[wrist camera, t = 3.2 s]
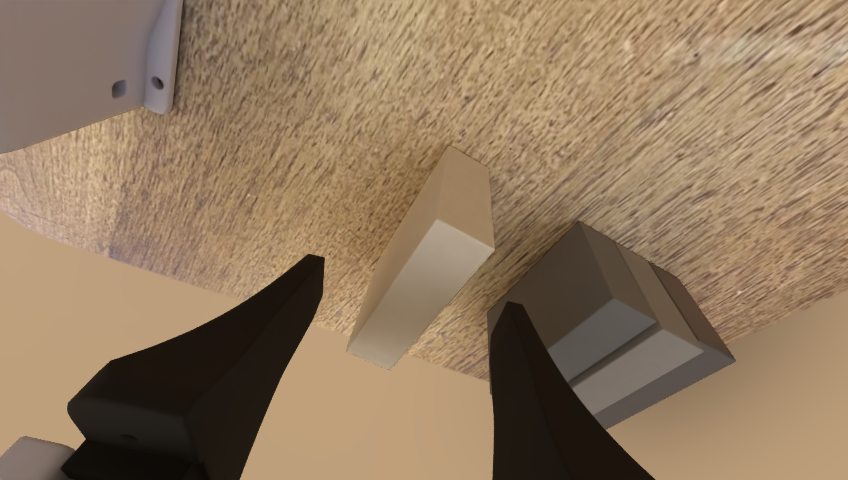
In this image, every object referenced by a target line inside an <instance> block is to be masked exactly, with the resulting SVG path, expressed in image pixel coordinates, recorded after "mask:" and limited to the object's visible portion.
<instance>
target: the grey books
mask: <svg viewBox="0 0 848 480" xmlns="http://www.w3.org/2000/svg"><path fill="white" fill-rule="evenodd" d="M507 301H510V302H515V303H519V304H523V306H524V308H525V310H526V312H527V313H528V315H529V317H530V319H531V321H532V323H533V325H534V327H535V329H536V331H537V333H538V335H539V336H540V338H541V340H542V342H543V344H544V345H545V347H546V349H547V351H548V352H549V354H550V356H551V358H552V359H553V361H554V363H555V364H556V366H557V367H558V369H559V370H560V372H561V374H562V375H563V377H564V378H565V380H566V381H567V382H568V384H569V385H570V387H571V388H572V389H573V391H574V392H575V393H576V395H577V396H578V397H579V399H580V400H581V401H582V403H583V404H584V405H585V406H586V408H587V409H588V410H589V411H590V413H591V414H592V415H593V416H594V417H595V418H596V420H597V421H598V422H599V423H600V424H601V426H602V427H603V428H604V429H605V430H606V429H608V428H610V427H612V426H614V425H616V424H618V423H620V422H621V421H623V420H625V419H627V418H629V417H631V416H633V415H635V414H637V413H638V412H641V411H642V410H644V409H646V408H648V407H650V406H652V405H654V404H656V403H658V402H660V401H661V400H663V399H665V398H667V397H669V396H671V395H673V394H675V393H677V392H679V391H681V390H682V389H684V388H686V387H688V386H690V385H692V384H694V383H696V382H698V381H699V380H701V379H703V378H705V377H707V376H709V375H711V374H713V373H715V372H717V371H719V370H720V369H722V368H724V367H726V366H728V365H730V364H732V363H734V362H735V361H736V360H735V358H734V357H733V355H732V354H731V352H730V351H729V350H728V348H727V347H726V345H725V344H724V342H723V341H722V340H721V338H720V337H719V335H718V334H717V332H716V331H715V330H714V328H713V327H712V325H711V324H710V322H709V321H708V320H707V318H706V317H705V315H704V314H703V312H702V311H701V310H700V308H699V307H698V305H697V304H696V303H695V301H694V300H693V298H692V297H691V295H690V294H689V293H688V291H687V290H686V288H685V287H684V285H683V284H682V283H681V281H680V280H679V279H678V278H676V277H674V276H673V275H671V274H669V273H668V272H666V271H664V270H662V269H661V268H659V267H657V266H656V265H654V264H652V263H650V262H647V260H645V259H644V258H642V257H640V256H639V255H637V254H635V253H633V252H632V251H630V250H628V249H627V248H625V247H623V246H621V245H620V244H618V243H616V242H613V240H611V239H610V238H608V237H606V236H604V235H603V234H601V233H599V232H597V231H596V230H594V229H592V228H591V227H589V226H587V225H585V224H584V223H582V222H580V221H578V222H577V223H576V224H575V225H574V226H573V227H572V228H571V229H570V230H569V231H568V232H567V233H566V234H565V235H564V236H563V237H562V238H561V239H560V240H559V241H558V242H557V243H556V244H555V245H554V246H553V247H552V248H551V249H550V250H549V251H548V252H547V253H546V254H545V255H544V256H543V257H542V258H541V259H540V260H539V261H538V262H537V263H536V264H535V265H534V266H533V267H532V268H531V269H530V270H529V271H528V272H527V273H526V274H525V275H524V276H523V277H522V278H521V279H520V280H519V281H518V282H517V283H516V284H515V285H514V286H513V287H512V288H511V289H510V290H509V291H508V292H507V293H506V294H505V295H504V296H503V297H502V298H501V299H500V300H499V302H498V303H497V304H496V305H495V306H494V307H493V308H492V309H491V310H490V311H489V312H488V313H487V325H488V352H489V378H490V394H491V395H492V387H491V374H490V339H491V333H492V331H493V329H494V327H495V325H496V323H497V321H498V319H499V317H500V315H501V313H502V311H503V309H504V307H505V305H506V303H507Z"/></svg>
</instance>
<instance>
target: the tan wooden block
mask: <svg viewBox="0 0 848 480" xmlns="http://www.w3.org/2000/svg"><path fill="white" fill-rule="evenodd" d="M494 250H495V245H494V232H493V219H492V206H491V193H490V180H489V168H488V167H486V166H484V165H482V164H481V163H479V162H477V161H476V160H474V159H472V158H470V157H469V156H467V155H465V154H464V153H462V152H460V151H458V150H457V149H455V148H453V147H452V146H448V147H447V149H446V150H445V152H444V153H443V155H442V157H441V158H440V160H439V162H438V163H437V165H436V166H435V168H434V170H433V171H432V173H431V175H430V176H429V178H428V179H427V181H426V183H425V184H424V186H423V187H422V189H421V191H420V192H419V194H418V196H417V197H416V199H415V200H414V202H413V204H412V205H411V207H410V209H409V210H408V212H407V213H406V215H405V217H404V218H403V220H402V222H401V223H400V225H399V226H398V228H397V230H396V231H395V233H394V235H393V236H392V238H391V239H390V241H389V243H388V244H387V246H386V248H385V249H384V251H383V252H382V254H381V256H380V257H379V259H378V261H377V264H376V267H375V270H374V272H373V275H372V278H371V281H370V284H369V286H368V289H367V292H366V295H365V298H364V300H363V303H362V306H361V309H360V312H359V314H358V317H357V320H356V323H355V326H354V328H353V331H352V334H351V337H350V340H349V342H348V345H347V348H346V352H347V353H350V354H352V355H354V356H357V357H359V358H361V359H364V360H366V361H368V362H371V363H373V364H375V365H378V366H380V367H382V368H385V369H387V370H391V369H392V368H393V367H394V366H395V364H396V363H397V362H398V361H399V360H400V359H401V358H402V356H403V355H404V354H405V353H406V352H407V351H408V349H409V348H410V347H411V346H412V345H413V344H414V343H415V341H416V340H417V339H418V338H419V337H420V336H421V335H422V333H423V332H424V331H425V330H426V329H427V328H428V326H429V325H430V324H431V323H432V322H433V321H434V320H435V318H436V317H437V316H438V315H439V314H440V313H441V312H442V310H443V309H444V308H445V307H446V306H447V305H448V304H449V302H450V301H451V300H452V299H453V298H454V297H455V295H456V294H457V293H458V292H459V291H460V290H461V289H462V287H463V286H464V285H465V284H466V283H467V282H468V281H469V279H470V278H471V277H472V276H473V275H474V274H475V272H476V271H477V270H478V269H479V268H480V267H481V266H482V264H483V263H484V262H485V261H486V260H487V259H488V258H489V256H490V255H491V254H492V253H493V252H494Z"/></svg>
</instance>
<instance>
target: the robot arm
mask: <svg viewBox="0 0 848 480" xmlns="http://www.w3.org/2000/svg"><path fill="white" fill-rule="evenodd" d="M182 7H183V0H0V154H2V153H7V152H12V151H15V150H19V149H22V148H25V147H28V146H31V145H34V144H37V143H40V142H42V141H45V140H48V139H51V138H54V137H57V136H59V135H62V134H65V133H68V132H71V131H74V130H76V129H79V128H82V127H85V126H88V125H91V124H93V123H96V122H99V121H102V120H105V119H108V118H110V117H113V116H116V115H119V114H122V113H125V112H127V111H130V110H133V109H136V108H139V107H141V106H143V107H145V108H147V109H149V110H151V111H153V112H155V113H157V114H160V115H162V114H166V113H169V112H170V111H171V110H172V107H173V97H174V87H175V77H176V67H177V57H178V47H179V37H180V27H181V17H182ZM158 78H159V79H160V80H161V81H162V82H163V86H164V87H163V86H162V85H160V83H159V82H158ZM324 261H325V258H324V257H320V256H316V255H312V254H308V255H306V256H305V257H304V258H303V259H301V260H300V261H299V262H298V263H297V264H295V265H294V266H293V267H292V268H290V269H289V270H288V271H287V272H285V273H284V274H283V275H282V276H280V277H279V278H278V279H276V280H275V281H274V282H272V283H271V284H270V285H268V286H267V287H265V288H264V289H263V290H261V291H260V292H258V293H257V294H255V295H254V296H252V297H251V298H249V299H248V300H246V301H245V302H243V303H241V304H240V305H238V306H236V307H235V308H233V309H231V310H230V311H228V312H226V313H224V314H223V315H221V316H219V317H217V318H215V319H213V320H211V321H209V322H207V323H205V324H203V325H201V326H199V327H197V328H195V329H193V330H191V331H189V332H186V333H184V334H182V335H179V336H177V337H175V338H172V339H170V340H167V341H165V342H162V343H160V344H158V345H155V346H152V347H149V348H147V349H144V350H141V351H138V352H135V353H132V354H129V355H126V356H123V357H121V358H117V359H114V360H111V361H110V362H109V363H108V364H107V365H105V366H104V367H103V368H102V369H101V370H100V371H99V372H98V373H97V374H96V375H95V376H94V377H93V378H92V379H91V380H90V381H89V382H88V383H87V384H86V385H85V386H84V387H83V388H82V389H81V390H80V391H79V392H78V393H77V394H76V395H75V396H74V397H73V398H72V399H71V401H70V402H68V407H67V411H68V414H69V416H70V418H71V419H72V421H73V422H74V423H75V425H76V426H77V427H78V429H79V430H80V431H81V433H82V434H83V435H84V437H85V438H86V440H85V441H84V442H83V443H82V444H81V446H80V447H79V448H78V449H77V450H74V449H73V448H70V447H69V446H66V445H63V444H59V443H55V442H50V441H45V440H41V439H37V438H32V437H27V436H24V437H21V438H19V439H18V440H17V441H16V442H15V443H14V444H13V445H12V446H11V447H10V448H9V449H8V450H7V451H6V452H5V453H4V454H3V455H2V456H1V457H0V480H240V477H241V474H242V472H243V469H244V467H245V463H246V461H247V459H248V456H249V453H250V451H251V448H252V446H253V443H254V441H255V438H256V436H257V433H258V431H259V428H260V426H261V423H262V421H263V418H264V416H265V414H266V411H267V409H268V407H269V404H270V402H271V400H272V397H273V395H274V393H275V390H276V388H277V386H278V383H279V381H280V379H281V377H282V375H283V373H284V371H285V369H286V367H287V365H288V363H289V361H290V360H291V358H292V356H293V354H294V352H295V351H296V349H297V347H298V345H299V343H300V342H301V340H302V338H303V336H304V334H305V333H306V331H307V329H308V327H309V325H310V324H311V322H312V320H313V318H314V315H315V313H316V311H317V308H318V306H319V303H320V301H321V298H322V296H323V279H324ZM490 374H491V387H492V399H493V413H494V454H493V479H492V480H655V479H654V478H653V477H652V476H651V475H650V474H649V473H648V472H647V471H646V470H644V469H643V468H642V467H641V466H640V465H639V464H638V463H637V462H636V461H635V460H634V459H633V458H632V457H631V456H630V455H629V454H628V453H627V452H626V451H625V450H624V449H623V448H622V447H621V446H620V445H619V444H618V443H617V442H616V441H615V440H614V439H613V438H612V437H611V436H610V435H609V433H608V432H607V431H606V430H605V429H604V428H603V427H602V426H601V424H600V423H599V422H598V421H597V420H596V418H595V417H594V416H593V415H592V414H591V413H590V411H589V410H588V409H587V408H586V406H585V405H584V404H583V403H582V401H581V400H580V399H579V397H578V396H577V395H576V393H575V392H574V391H573V389H572V388H571V387H570V385H569V384H568V382H567V381H566V380H565V378H564V377H563V375H562V374H561V372H560V370H559V369H558V367H557V366H556V364H555V363H554V361H553V359H552V358H551V356H550V354H549V352H548V351H547V349H546V347H545V345H544V344H543V342H542V340H541V338H540V336H539V335H538V333H537V331H536V329H535V327H534V325H533V323H532V321H531V319H530V317H529V315H528V313H527V312H526V310H525V308H524V306H523V304H519V303H515V302H510V301H507V303H506V305H505V307H504V309H503V311H502V313H501V315H500V317H499V319H498V321H497V323H496V325H495V327H494V329H493V331H492V333H491V339H490Z"/></svg>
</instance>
